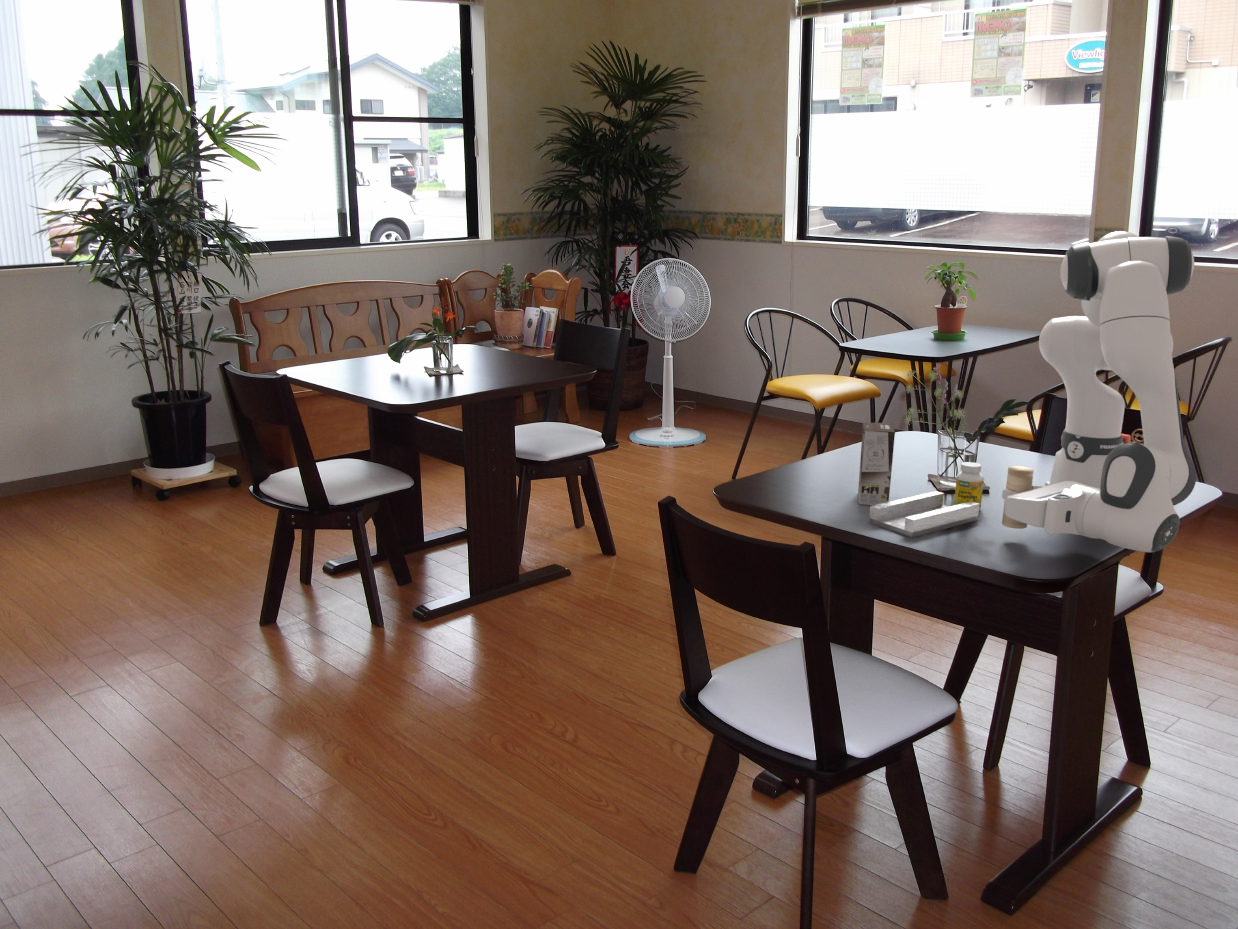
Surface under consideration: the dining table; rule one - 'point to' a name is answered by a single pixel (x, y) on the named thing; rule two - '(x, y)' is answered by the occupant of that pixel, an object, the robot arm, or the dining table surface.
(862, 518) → the dining table surface
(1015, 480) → the birch post
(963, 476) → the supplement bottle
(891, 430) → the coffee box
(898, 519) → the aluminium track
